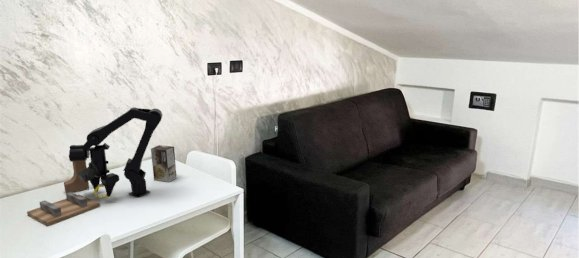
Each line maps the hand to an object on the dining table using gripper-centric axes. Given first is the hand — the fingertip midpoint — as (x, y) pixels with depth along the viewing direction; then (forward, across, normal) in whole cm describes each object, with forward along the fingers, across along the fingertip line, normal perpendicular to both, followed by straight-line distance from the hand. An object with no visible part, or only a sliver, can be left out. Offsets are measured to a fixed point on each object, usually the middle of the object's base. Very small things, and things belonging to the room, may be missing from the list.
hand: (102, 194), depth 164 cm
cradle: (+1, 0, -16) cm, 16 cm away
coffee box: (+2, +5, +29) cm, 29 cm away
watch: (+2, 0, 0) cm, 2 cm away
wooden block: (+2, -17, -2) cm, 17 cm away
